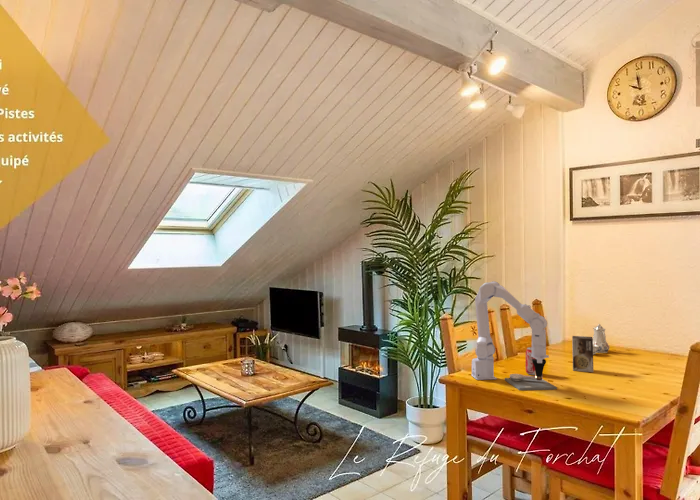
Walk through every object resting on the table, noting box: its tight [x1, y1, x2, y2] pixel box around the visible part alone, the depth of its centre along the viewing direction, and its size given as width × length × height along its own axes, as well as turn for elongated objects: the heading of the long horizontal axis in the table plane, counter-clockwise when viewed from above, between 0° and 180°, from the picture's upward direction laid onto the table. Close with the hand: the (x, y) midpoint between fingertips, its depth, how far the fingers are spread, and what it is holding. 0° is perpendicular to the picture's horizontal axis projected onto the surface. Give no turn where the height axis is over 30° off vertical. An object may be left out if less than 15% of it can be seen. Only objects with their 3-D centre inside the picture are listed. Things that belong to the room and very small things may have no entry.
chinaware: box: [592, 323, 611, 356], centre depth 278 cm, size 28×17×17 cm, turn 173°
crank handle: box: [509, 372, 543, 380], centre depth 211 cm, size 6×14×4 cm, turn 71°
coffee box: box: [571, 335, 594, 373], centre depth 234 cm, size 9×6×16 cm
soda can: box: [525, 346, 535, 376], centre depth 227 cm, size 7×7×12 cm
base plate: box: [504, 377, 558, 391], centre depth 209 cm, size 16×16×2 cm
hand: (539, 376), depth 207 cm, fingers closed
